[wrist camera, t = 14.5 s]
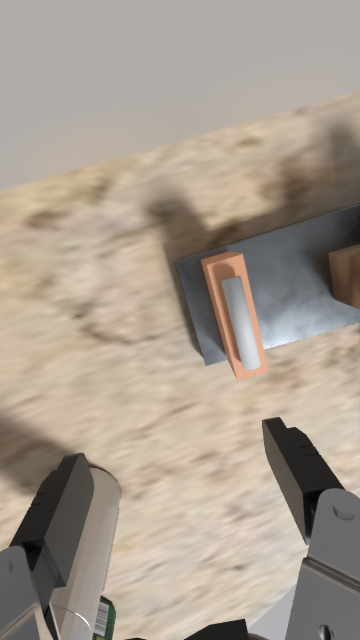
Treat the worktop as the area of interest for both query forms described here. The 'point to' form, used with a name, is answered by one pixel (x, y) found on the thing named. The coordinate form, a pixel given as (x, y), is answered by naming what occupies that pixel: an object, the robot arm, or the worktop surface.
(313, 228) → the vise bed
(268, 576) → the worktop surface
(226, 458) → the worktop surface
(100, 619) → the coffee jar
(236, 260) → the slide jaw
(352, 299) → the walnut block
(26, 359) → the worktop surface
